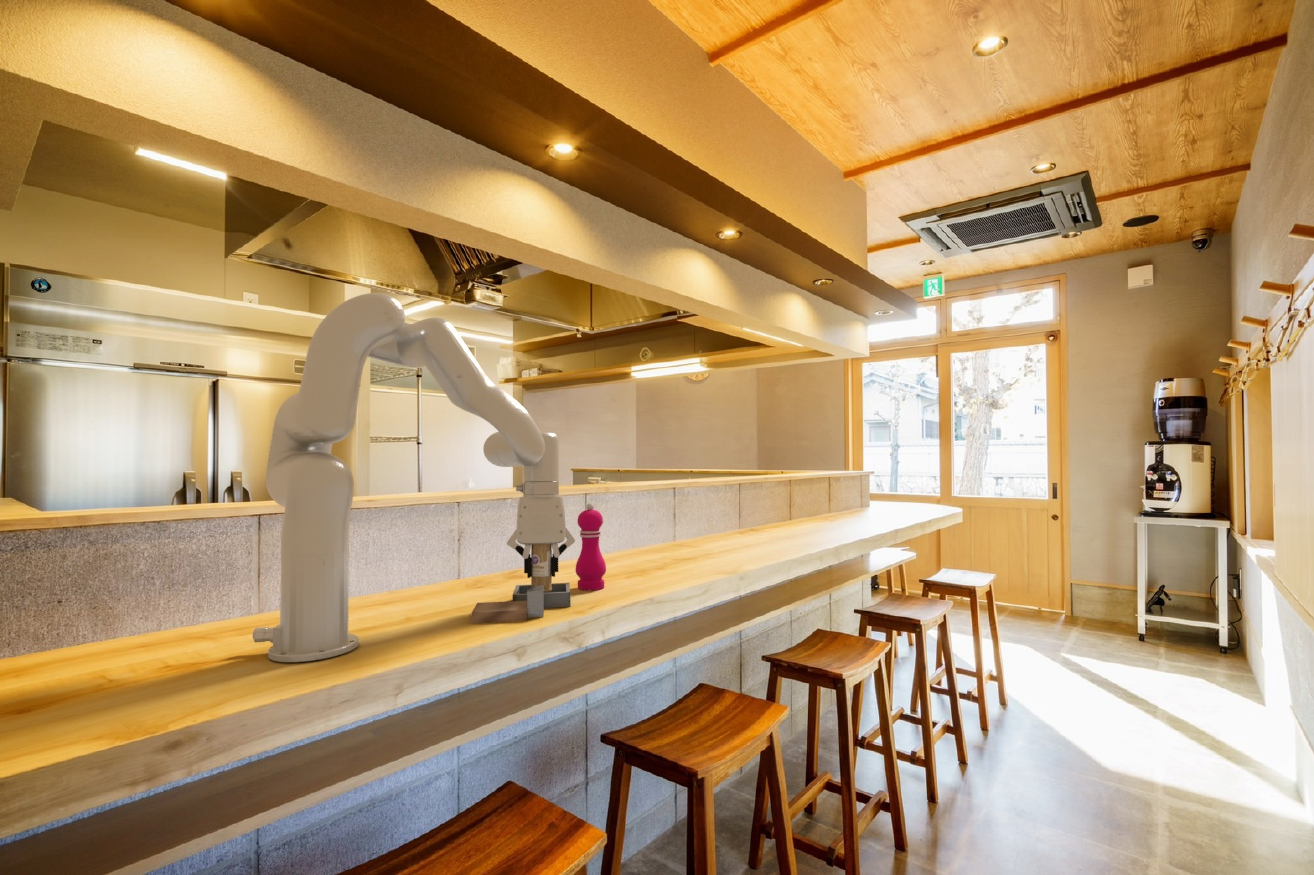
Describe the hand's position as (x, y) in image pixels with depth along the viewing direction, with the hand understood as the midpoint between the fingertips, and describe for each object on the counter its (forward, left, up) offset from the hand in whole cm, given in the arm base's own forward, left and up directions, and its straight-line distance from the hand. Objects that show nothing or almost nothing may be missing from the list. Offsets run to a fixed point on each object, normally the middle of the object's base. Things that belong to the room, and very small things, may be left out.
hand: (541, 575), depth 130 cm
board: (-7, -11, -6) cm, 14 cm away
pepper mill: (+11, +13, -6) cm, 18 cm away
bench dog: (-1, -10, -6) cm, 11 cm away
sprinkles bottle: (0, 0, -4) cm, 4 cm away
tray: (0, 0, -6) cm, 6 cm away
